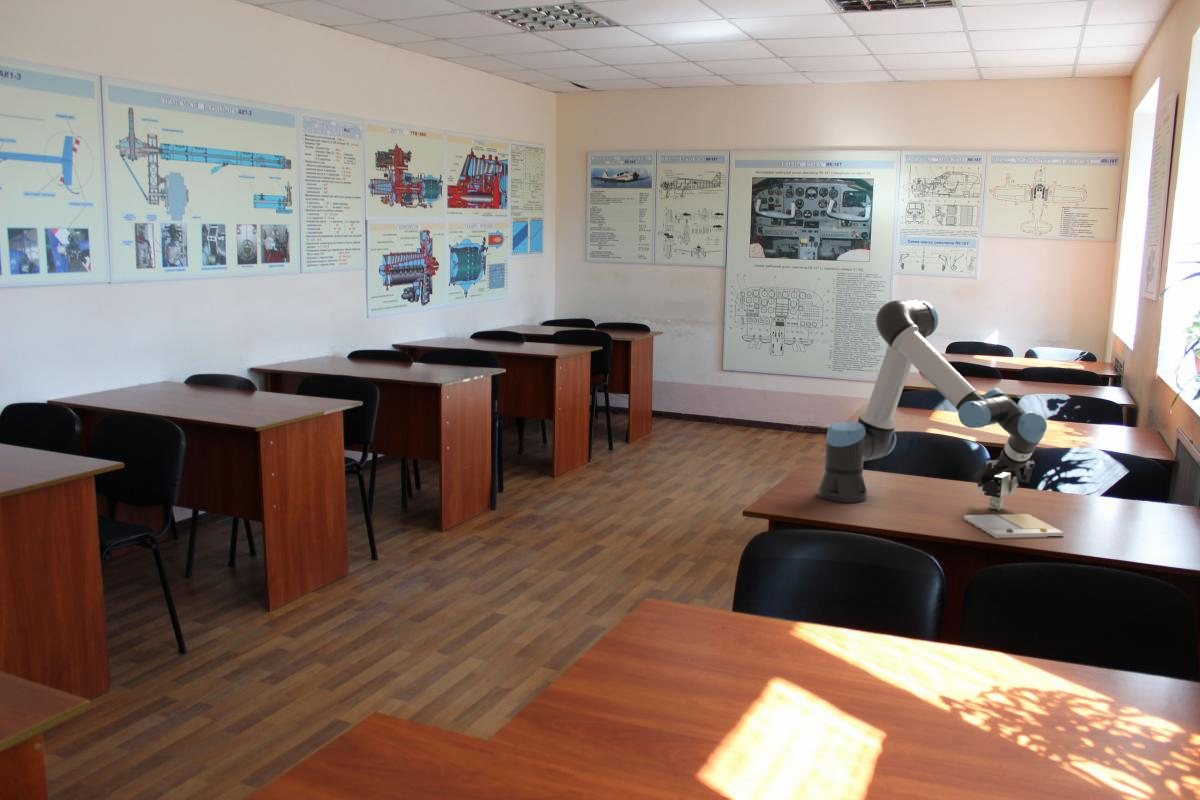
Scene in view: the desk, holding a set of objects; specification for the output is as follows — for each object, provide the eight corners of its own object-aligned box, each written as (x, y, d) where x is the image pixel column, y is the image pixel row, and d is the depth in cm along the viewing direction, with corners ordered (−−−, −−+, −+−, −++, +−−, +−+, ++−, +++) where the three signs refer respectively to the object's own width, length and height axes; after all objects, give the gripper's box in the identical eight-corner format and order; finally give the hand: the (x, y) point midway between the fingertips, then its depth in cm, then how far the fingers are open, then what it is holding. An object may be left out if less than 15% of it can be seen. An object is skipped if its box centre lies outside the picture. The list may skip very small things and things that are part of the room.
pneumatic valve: (1010, 506, 295) (1013, 468, 293) (997, 513, 287) (1000, 475, 285) (992, 503, 299) (994, 465, 297) (978, 510, 290) (981, 472, 288)
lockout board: (963, 519, 280) (964, 512, 280) (1027, 518, 283) (1028, 511, 282) (995, 538, 263) (996, 530, 262) (1063, 536, 265) (1064, 529, 265)
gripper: (982, 461, 275) (961, 500, 294) (1057, 463, 274) (1032, 502, 292) (977, 440, 280) (957, 479, 298) (1051, 441, 278) (1026, 481, 297)
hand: (994, 490), depth 295 cm, fingers closed on pneumatic valve, 8 cm apart
